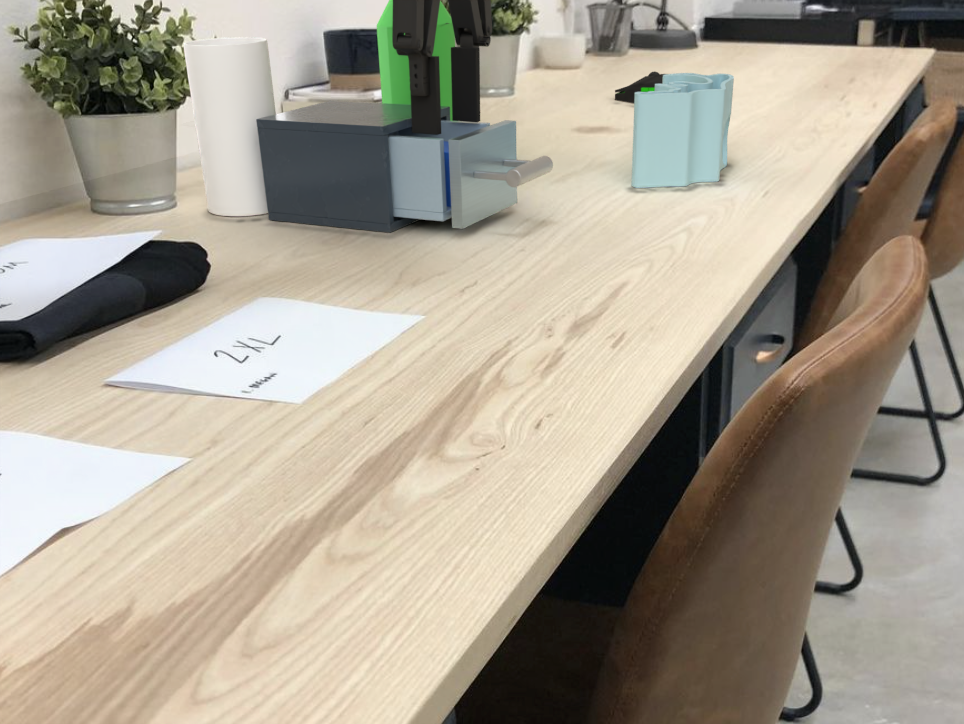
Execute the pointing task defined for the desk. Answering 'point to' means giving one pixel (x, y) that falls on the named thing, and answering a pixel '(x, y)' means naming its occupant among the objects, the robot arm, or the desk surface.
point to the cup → (230, 119)
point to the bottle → (397, 66)
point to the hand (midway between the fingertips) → (447, 126)
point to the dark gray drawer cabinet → (333, 164)
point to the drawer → (459, 171)
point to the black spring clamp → (639, 87)
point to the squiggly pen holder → (681, 130)
